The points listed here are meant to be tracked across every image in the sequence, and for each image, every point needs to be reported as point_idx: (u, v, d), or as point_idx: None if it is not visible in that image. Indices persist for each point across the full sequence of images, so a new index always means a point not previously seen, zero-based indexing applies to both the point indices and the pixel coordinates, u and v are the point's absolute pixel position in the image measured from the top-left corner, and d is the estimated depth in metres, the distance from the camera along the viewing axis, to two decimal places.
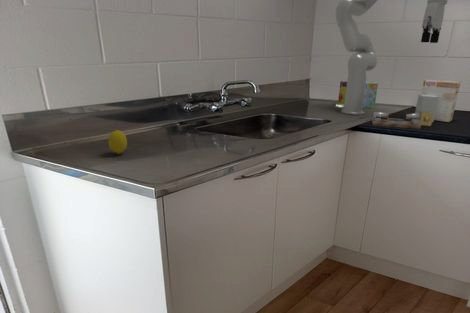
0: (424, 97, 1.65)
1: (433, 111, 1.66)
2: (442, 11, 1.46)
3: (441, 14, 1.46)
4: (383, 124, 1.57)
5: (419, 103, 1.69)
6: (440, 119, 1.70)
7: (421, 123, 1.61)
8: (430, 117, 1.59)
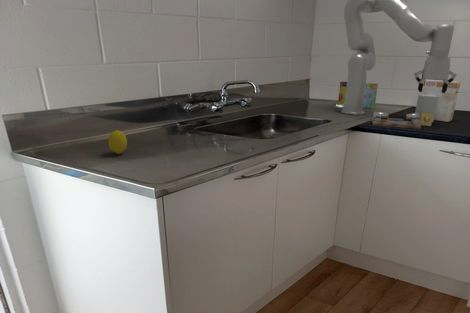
0: (424, 97, 1.66)
1: (433, 111, 1.67)
2: None
3: None
4: (383, 124, 1.57)
5: (419, 102, 1.69)
6: (440, 119, 1.70)
7: (421, 123, 1.61)
8: (430, 117, 1.59)
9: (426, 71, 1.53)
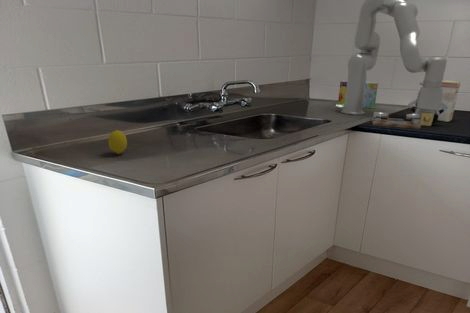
0: None
1: (433, 111, 1.67)
2: None
3: None
4: (383, 124, 1.57)
5: None
6: (440, 119, 1.70)
7: (421, 123, 1.61)
8: (430, 117, 1.59)
9: (419, 101, 1.58)
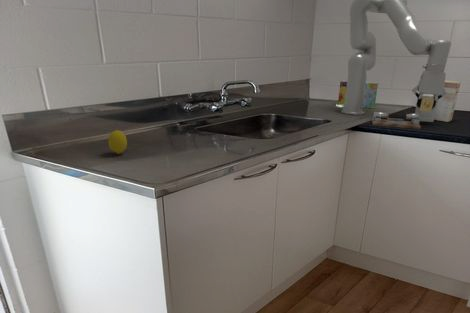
0: None
1: (433, 111, 1.67)
2: None
3: None
4: (383, 124, 1.57)
5: None
6: (440, 119, 1.70)
7: (421, 108, 1.60)
8: (431, 102, 1.58)
9: (421, 85, 1.56)
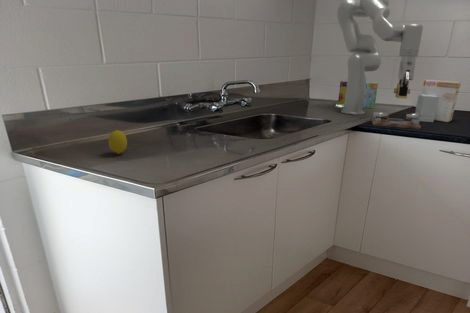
0: (424, 97, 1.65)
1: (433, 111, 1.67)
2: (401, 63, 1.51)
3: (400, 66, 1.52)
4: (383, 124, 1.57)
5: (420, 102, 1.69)
6: (440, 119, 1.70)
7: None
8: None
9: (413, 72, 1.48)
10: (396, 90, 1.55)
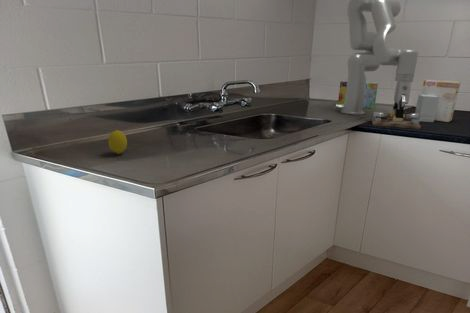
0: (424, 97, 1.65)
1: (433, 111, 1.66)
2: (397, 87, 1.55)
3: (396, 90, 1.55)
4: (383, 124, 1.57)
5: (420, 102, 1.69)
6: (440, 119, 1.70)
7: None
8: None
9: None
10: (391, 115, 1.59)
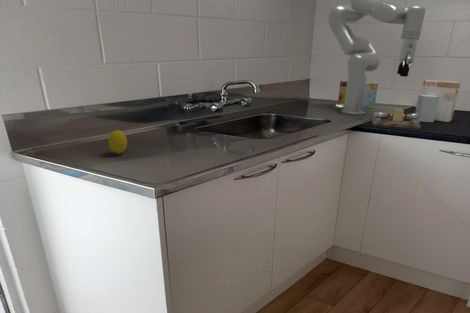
0: (424, 97, 1.65)
1: (433, 111, 1.66)
2: (402, 46, 1.53)
3: (401, 49, 1.54)
4: (383, 124, 1.57)
5: (420, 103, 1.69)
6: (440, 119, 1.70)
7: None
8: None
9: None
10: (391, 115, 1.59)
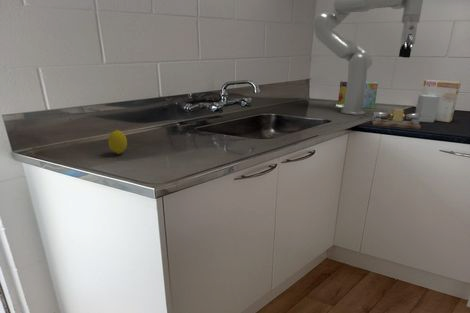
0: (425, 97, 1.65)
1: (434, 111, 1.66)
2: (403, 29, 1.62)
3: (403, 32, 1.63)
4: (383, 124, 1.57)
5: (420, 103, 1.68)
6: (440, 119, 1.70)
7: None
8: None
9: (415, 36, 1.59)
10: (391, 115, 1.59)
